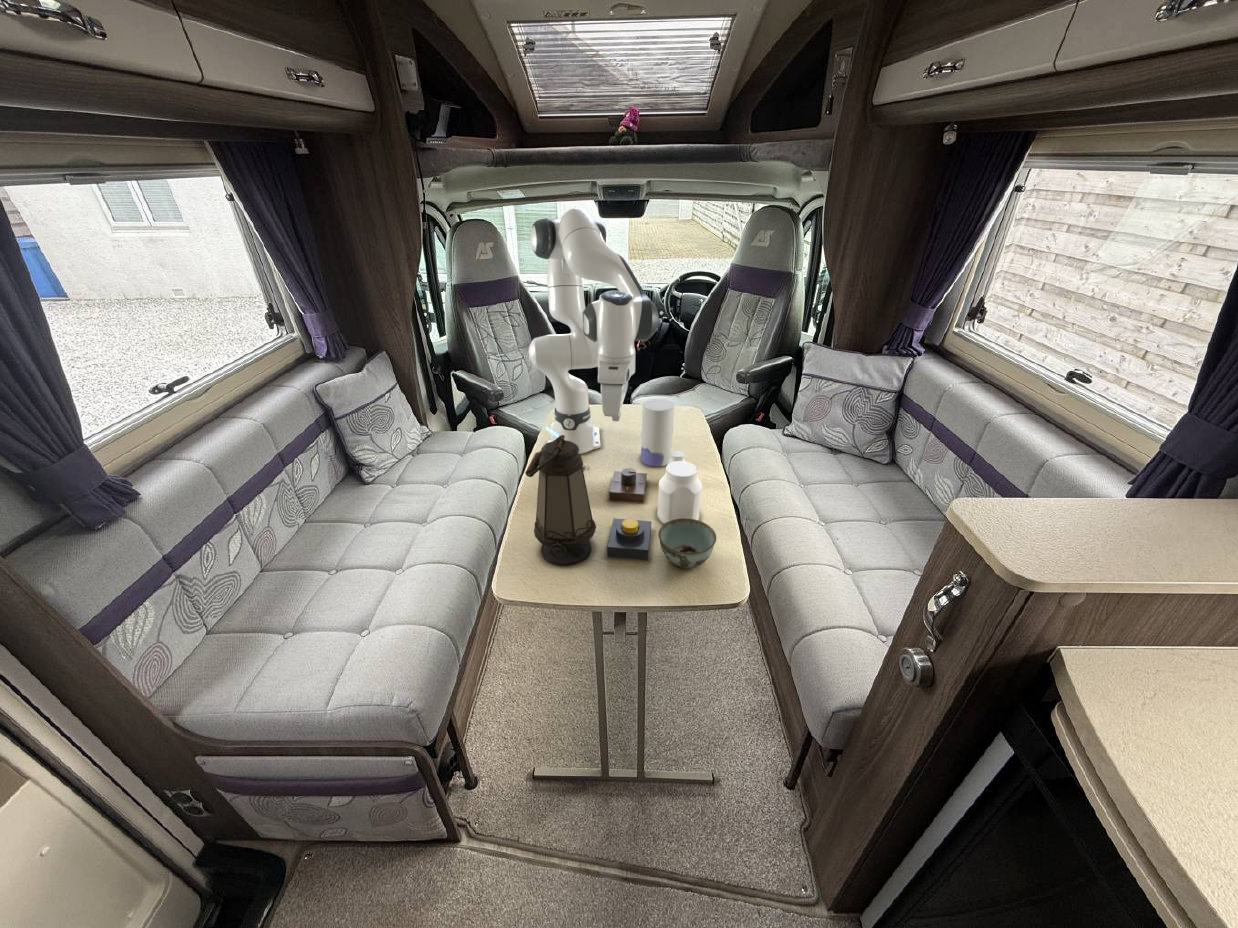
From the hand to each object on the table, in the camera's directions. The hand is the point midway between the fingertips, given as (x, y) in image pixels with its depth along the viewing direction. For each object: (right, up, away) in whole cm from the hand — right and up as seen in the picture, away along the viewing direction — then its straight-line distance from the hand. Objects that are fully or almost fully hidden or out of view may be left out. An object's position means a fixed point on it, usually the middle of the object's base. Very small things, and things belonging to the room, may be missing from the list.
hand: (616, 419), depth 124 cm
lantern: (-12, -33, +1) cm, 35 cm away
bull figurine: (-13, -20, +24) cm, 34 cm away
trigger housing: (+3, -32, +3) cm, 32 cm away
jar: (+17, -26, +14) cm, 34 cm away
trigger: (+3, -27, +1) cm, 28 cm away
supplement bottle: (+18, -17, +30) cm, 39 cm away
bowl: (+17, -35, -2) cm, 39 cm away
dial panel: (+3, -19, +25) cm, 32 cm away
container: (+13, -10, +42) cm, 45 cm away
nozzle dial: (+3, -17, +24) cm, 29 cm away
